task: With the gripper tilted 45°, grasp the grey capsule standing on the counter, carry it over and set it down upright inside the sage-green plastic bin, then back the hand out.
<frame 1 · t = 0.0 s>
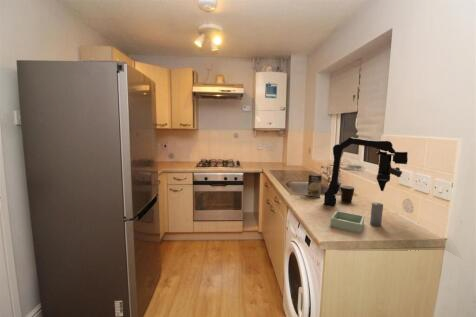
hand: (382, 189, 134), 15 cm above the worktop, tool pointing down, fingers open, 9 cm apart
coffee mug: (346, 201, 161), on the worktop
grey capsule: (375, 224, 120), on the worktop
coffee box: (313, 196, 171), on the worktop
sage bin: (347, 225, 119), on the worktop
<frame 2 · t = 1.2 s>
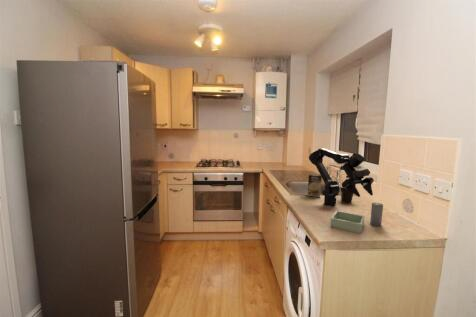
hand: (365, 195, 125), 13 cm above the worktop, tool tilted 45°, fingers open, 9 cm apart
nothing on the worktop moved.
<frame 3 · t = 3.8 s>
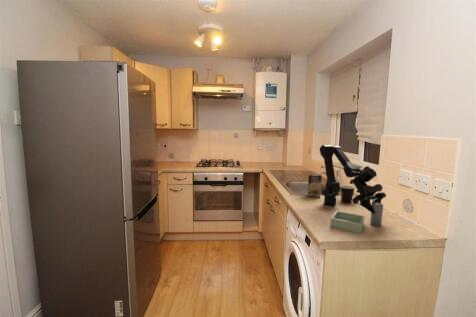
hand: (378, 212, 119), 7 cm above the worktop, tool tilted 45°, fingers closed on grey capsule, 5 cm apart
grey capsule: (375, 224, 120), on the worktop, touching gripper
everything else where it was.
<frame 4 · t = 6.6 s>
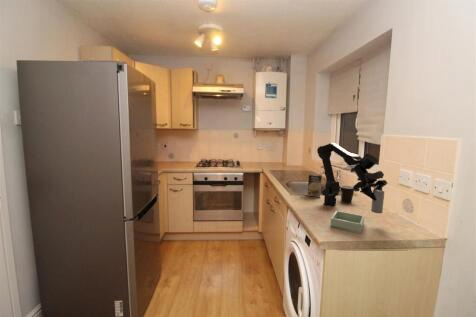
hand: (379, 199, 118), 13 cm above the worktop, tool tilted 45°, fingers closed on grey capsule, 5 cm apart
grey capsule: (376, 211, 119), point 7 cm above the worktop, touching gripper
everything else where it was.
when the fingers open (9 cm above the worktop, at t = 9.9 s): grey capsule drops 1 cm, resting on sage bin.
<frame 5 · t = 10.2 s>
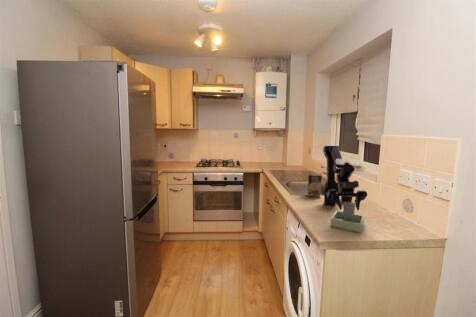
hand: (349, 209, 116), 9 cm above the worktop, tool tilted 45°, fingers open, 8 cm apart
grey capsule: (347, 224, 118), point 1 cm above the worktop, touching sage bin
everything else where it was.
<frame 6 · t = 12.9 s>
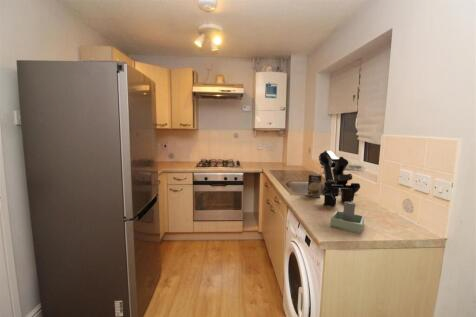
hand: (343, 200, 125), 11 cm above the worktop, tool tilted 45°, fingers open, 9 cm apart
nothing on the worktop moved.
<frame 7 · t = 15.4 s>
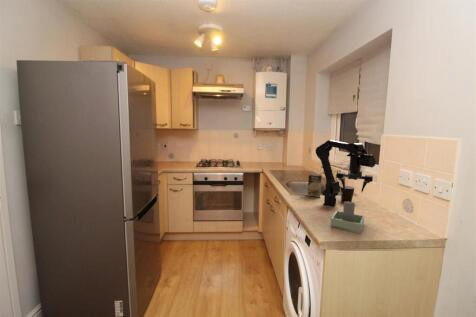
hand: (353, 191, 136), 13 cm above the worktop, tool pointing down, fingers open, 9 cm apart
nothing on the worktop moved.
at the end: grey capsule inside the target area on the sage bin (0.5 cm from its centre), point 0.9 cm above the sage bin's base; grey capsule tilted 3°; the gripper is holding nothing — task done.
